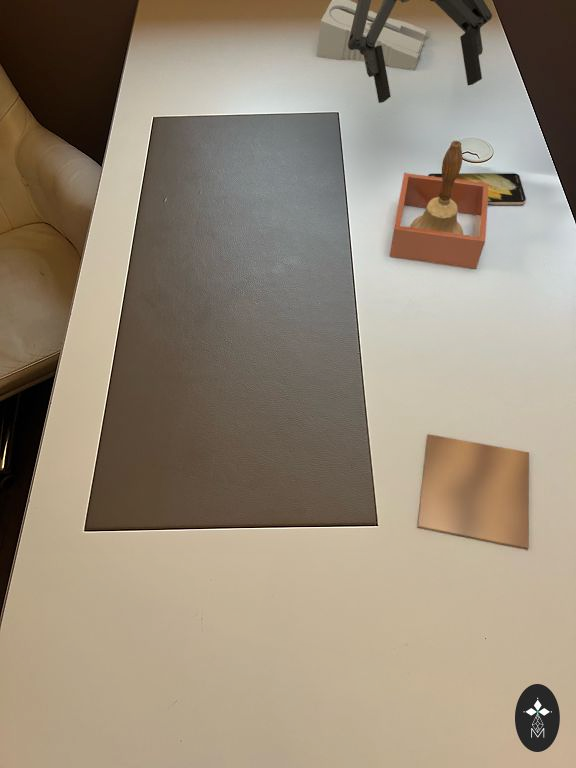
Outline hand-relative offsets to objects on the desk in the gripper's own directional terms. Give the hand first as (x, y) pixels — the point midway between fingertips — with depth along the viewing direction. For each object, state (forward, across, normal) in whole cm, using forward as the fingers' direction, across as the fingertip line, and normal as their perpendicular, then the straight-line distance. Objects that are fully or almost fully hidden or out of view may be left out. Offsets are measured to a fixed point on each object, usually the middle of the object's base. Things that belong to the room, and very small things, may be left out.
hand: (430, 91), depth 86 cm
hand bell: (+19, 0, -6) cm, 20 cm away
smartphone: (+14, -10, -11) cm, 21 cm away
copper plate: (+48, +14, +23) cm, 55 cm away
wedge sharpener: (-18, -11, -44) cm, 49 cm away
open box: (+19, 0, -6) cm, 20 cm away
